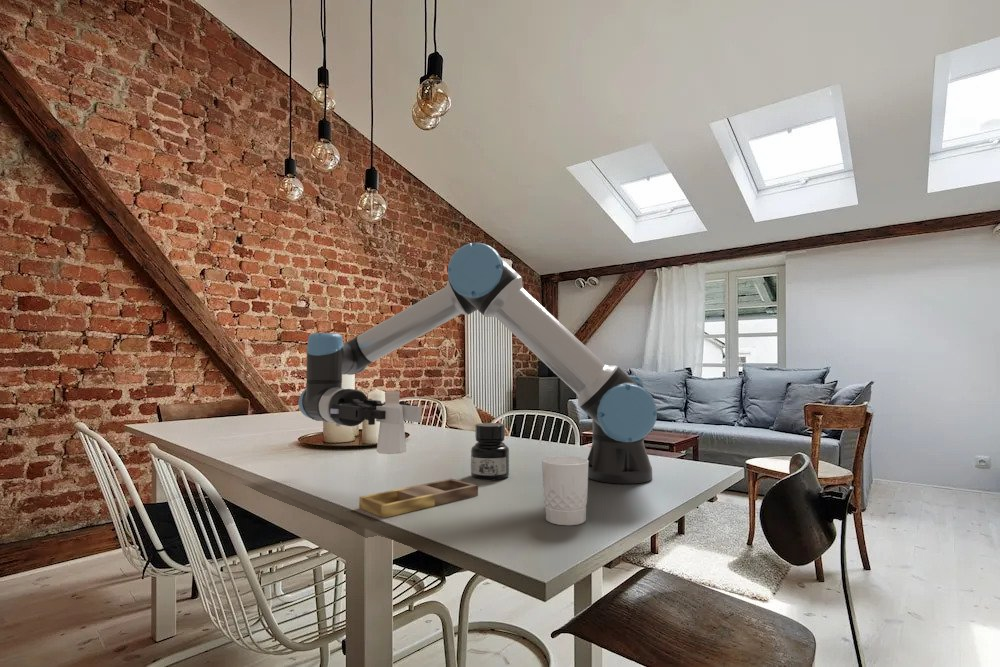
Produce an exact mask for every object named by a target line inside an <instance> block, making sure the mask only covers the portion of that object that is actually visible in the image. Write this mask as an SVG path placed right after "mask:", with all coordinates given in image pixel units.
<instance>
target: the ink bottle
mask: <svg viewBox="0 0 1000 667" xmlns="http://www.w3.org/2000/svg"><path fill="white" fill-rule="evenodd" d="M505 425H506V424H504V423H499V422H497V423H496V422H482V423H476V424H475V426H474V427H475V434H474V435H475V436H474V437H475V441H476V443H475V444H474V445H473V446H472V447H471V449H470V476H471V478H473V479H476V480H482V481H483V480H485V481H495V480H503V479H506V478H508V477H509V476H510V450H509V447H508V445H506V443H505V442H504V441H505V437H506V436H505V432H506V431H505V428H506V426H505Z"/></svg>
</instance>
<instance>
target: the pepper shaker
mask: <svg viewBox="0 0 1000 667" xmlns="http://www.w3.org/2000/svg"><path fill="white" fill-rule="evenodd" d="M400 395H401V392H400V391H398V390H397V391H396V390H388V391H385V392H384V402H385V405H382V406H383V407H392V408H400V424H390V423H384V422H379V428H378V437H377V444H376V452H377V453H378V454H381V455H382V454H383V455H393V454H395V455H397V454H402V453H406V452H407V445H406V444H407V443H406V432H405V420H404V418H403V408H402V405H400V404H399V403H400V401H401V400H400Z"/></svg>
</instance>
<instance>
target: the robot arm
mask: <svg viewBox="0 0 1000 667" xmlns="http://www.w3.org/2000/svg"><path fill="white" fill-rule="evenodd" d="M447 277H448V280H447V282H446V285H445V287H443V288H441V289H440V290H437V291H436V292H433V293H432V294H430V295H428V296H427V297H425V298H423V299H421V300H419V301H417V302H416V303H414V304H412V305H410V306H409V307H407V308H405V309H403V310H402V311H400V312H398V313H396V314H394V315H393V316H390V317H388V318H387V319H385V320H384V321H382V322H380V323H378V324H376V325H374V326H373V327H371V328H369V329H367V330H366V331H364V332H361V333H360V334H358V335H357V336H355V337H353V338H352V339H350V340H348V341H345V342H344V341H343V340H344V339H343V335H342V334H340V333H332V332H331V333H329V332H323V333H321V332H319V333H318V332H317V333H316V332H314V333H311V334H309V335H308V337H307V344H306V346H307V347H306V350H305V351H306V384H305V389H304V390H303V391H302V392H301V394H300V396H299V398H298V407H299V411H300V412H301V413H302V415H303V416H305V417H306V418H308V419H311V420H313V421H316V422H326V423H331V424H335V426H336V427H340V426H346V427H356V426H359V425H361V424H362V423H363V422H364V421H367V422H368V424H367V425H368V426H374V425H376V422H378V423H380V422H384V423H390V424H400V408H392V407H383V406H382V405H385V401H383V403H382V401H381V400H377V399H373V398H368V396H367V395H366V394H365V393H364V392H363V391H362V390H359V389H355V388H354V389H353V388H345V387H342V386H343V385H342V383H343V375H349V376H350V375H351V376H352V375H356V374H358V373H362V372H363V371H365V369H366V368H367V367H368V366H369V365H371V364H372V363H375V361H378V360H379V359H382V358H383V357H385V356H387V355H389V354H390V353H392V352H394V351H395V350H398V349H399V348H401V347H403V346H405V345H406V344H409V343H411V342H412V341H414V340H416V339H418V338H420V337H421V336H423V335H426V334H427V333H429V332H430V331H432V330H434V329H436V328H438V327H439V326H442V325H444V324H446V323H447V322H449V321H451V320H454V319H455V318H456V317H458V316H460V315H465V316H469V315H471V314H472V313H474V312H476V311H478V312H479V313H481V315H483V316H484V318H493V317H494V318H495V319H497V320H498V321H499V322H500V323H501V324H502V325H503V326H504V327H505V328H506V329H507V330H508V331H510V333H511V334H513V335H514V336H515V337H516V338H517V339H518V340H519V341H520V342H521V343H522V344H523V345H524V346H525V347H526V348H528V349H529V351H530V352H531V353H533V354H534V355H535V356H536V357H537V358H538V359H539V360H540V361H541V362H542V363H543V364H545V365H546V367H548V368H549V369H550V371H552V372H553V374H555V375H556V376H557V377H558V378H559V379H560V380H561V381H562V382H564V383H565V385H566V386H568V388H570V389H571V390H572V391H573V392H574V393H575V394H576V395H577V406H578V407H579V408H581V410H583V412H584V413H585V414H587V415H588V417H590V419H592V425H591V426H592V444H591V446H590V450H589V453H588V457H587V458H586V459H587V460H588V461H589V465H588V479H590V480H593V481H597V482H601V483H606V484H607V483H609V484H623V485H625V484H627V485H629V484H640V483H641V484H642V483H647V482H650V481H651V480H653V466H652V465H651V462H650V458H649V455H648V452H647V449H646V447H645V442H644V441H645V437H646V436H648V435H649V433H650V432H652V430H653V429H654V428H655V424H656V422H657V417H658V409H657V405H656V402H655V399H654V397H653V396H652V394H651V393H650V391H648V390H647V389H646V388H645V386H644V383H643V382H644V381H643V378H641V377H640V376H636V375H628V374H627V373H626V372H624V371H623V370H622V369H621V367H619V366H618V365H611V364H610V365H609V364H605V363H604V362H603V360H601V359H600V358H599V357H598V356H597V355H596V354H595V353H593V352H592V351H591V349H589V348H588V347H587V346H586V345H585V344H584V343H583V342H582V341H580V340H579V339H578V338H577V336H575V335H574V334H573V333H572V332H571V331H570V330H569V329H568V328H567V327H566V326H564V325H563V324H562V323H561V322H560V321H559V319H557V318H556V317H555V316H554V315H553V314H552V313H550V312H549V311H548V310H547V309H546V308H545V307H544V306H543V305H542V304H541V303H540V302H539V301H537V300H536V298H535V297H533V296H532V295H531V294H530V293H529V292H528V291H527V290H526V289H525V288H524V287H523V277H522V276H521V275H520V274H519V273H518V272H517V271H515V269H513V267H512V266H510V265H509V264H508V263H507V262H506V261H505V260H504V259H503V258H502V257H501V255H500V254H499V252H498V251H497V250H496V249H495V248H494V247H492V246H491V245H488V244H486V243H482V242H471V243H467V244H464V245H461V246H460V247H459V248H458V249H456V251H455V252H454V253H453V254H452V255H451V258H450V260H449V262H448V266H447ZM399 404H400V405H402V408H403V418H404V421H406V422H413V423H421V422H422V406H416V405H412V404H411V403H406V400H399Z"/></svg>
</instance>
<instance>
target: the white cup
mask: <svg viewBox="0 0 1000 667" xmlns="http://www.w3.org/2000/svg"><path fill="white" fill-rule="evenodd" d="M587 459H588V458H584V457H580V456H579V457H578V456H572V455H571V456H570V455H554V456H547V457H544V458H542V459H541V466H542V467H541V470H542V486H543V499H544V500H543V502H544V506H545V507H544V508H545V520H546V521H547V522H549V523H551V524H554V525H558V526H577V525H581V524H584V523H585V522H586V520H587V504H588V493H589V492H588V490H589V478H588V465H589V461H588V460H587Z"/></svg>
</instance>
